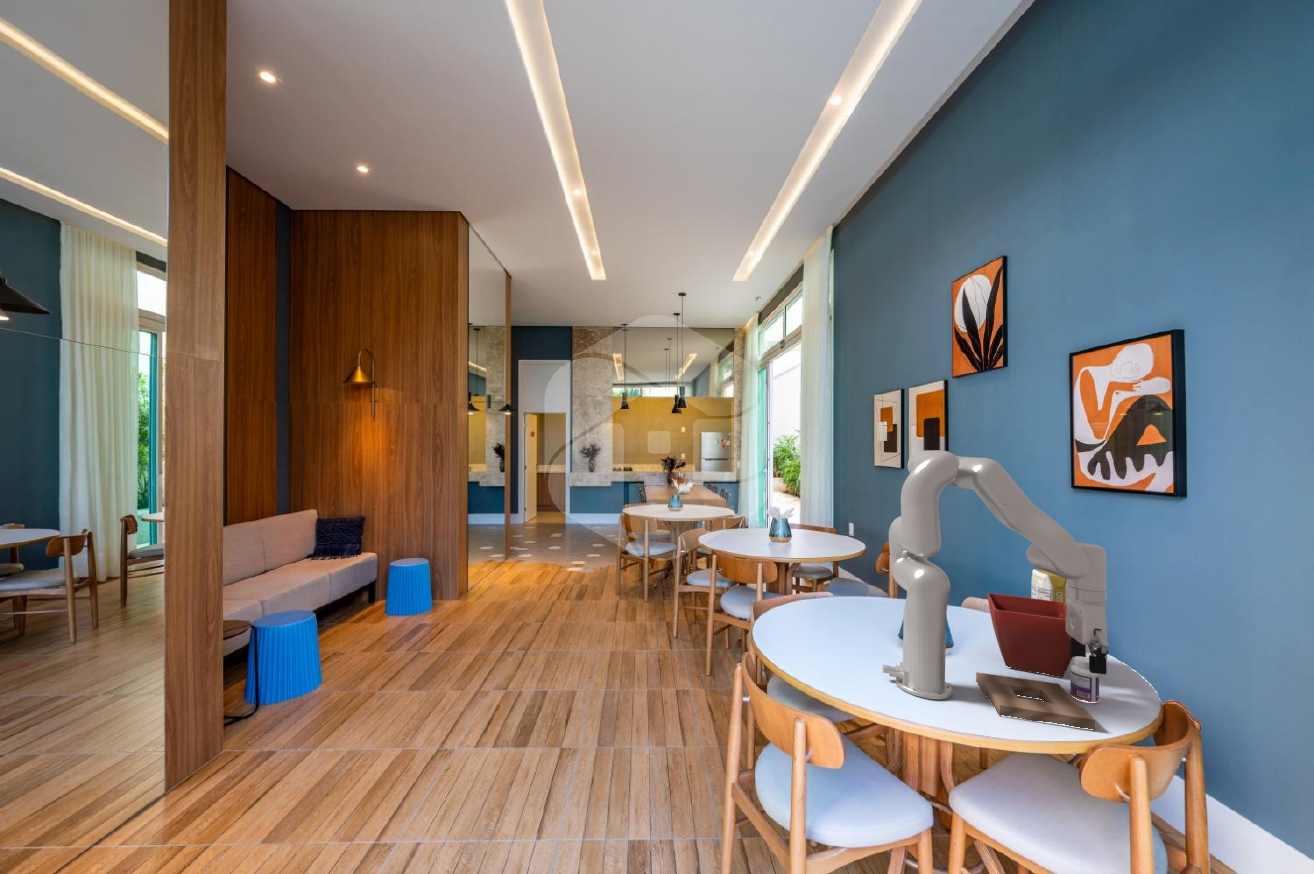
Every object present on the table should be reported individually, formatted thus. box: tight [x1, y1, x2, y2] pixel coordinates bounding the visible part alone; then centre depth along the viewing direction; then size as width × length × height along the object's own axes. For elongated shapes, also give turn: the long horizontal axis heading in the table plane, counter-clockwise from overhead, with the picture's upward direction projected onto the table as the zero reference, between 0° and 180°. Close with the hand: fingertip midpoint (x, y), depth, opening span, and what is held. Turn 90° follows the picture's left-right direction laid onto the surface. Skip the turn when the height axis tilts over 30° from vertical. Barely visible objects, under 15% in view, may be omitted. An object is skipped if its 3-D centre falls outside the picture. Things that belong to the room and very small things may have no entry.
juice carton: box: [1030, 569, 1068, 605], centre depth 160 cm, size 9×8×24 cm
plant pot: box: [987, 592, 1073, 678], centre depth 145 cm, size 19×19×17 cm
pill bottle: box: [1070, 656, 1100, 702], centre depth 125 cm, size 5×5×10 cm
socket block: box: [975, 671, 1097, 732], centre depth 122 cm, size 18×18×2 cm
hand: (1087, 664), depth 125 cm, fingers open, 9 cm apart
